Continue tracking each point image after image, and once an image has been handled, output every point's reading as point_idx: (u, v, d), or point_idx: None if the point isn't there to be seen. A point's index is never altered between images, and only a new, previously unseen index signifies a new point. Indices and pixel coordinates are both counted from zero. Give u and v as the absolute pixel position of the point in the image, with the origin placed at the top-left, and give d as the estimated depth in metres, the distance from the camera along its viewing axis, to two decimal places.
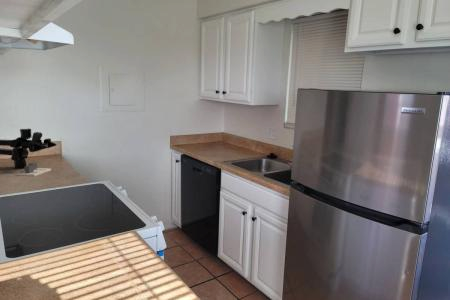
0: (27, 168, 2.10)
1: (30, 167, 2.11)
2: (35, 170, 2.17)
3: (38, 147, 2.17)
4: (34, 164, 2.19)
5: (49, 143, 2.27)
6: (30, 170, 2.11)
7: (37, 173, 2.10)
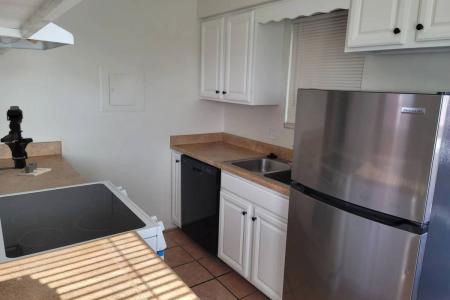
0: (27, 168, 2.10)
1: (30, 167, 2.11)
2: (35, 170, 2.17)
3: None
4: (34, 164, 2.19)
5: None
6: (30, 170, 2.11)
7: (37, 173, 2.10)
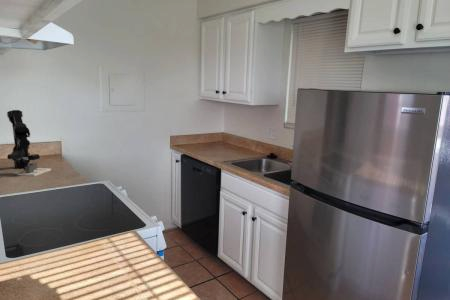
0: (27, 168, 2.10)
1: (30, 167, 2.11)
2: (35, 170, 2.17)
3: None
4: (34, 164, 2.19)
5: None
6: (30, 170, 2.11)
7: (37, 173, 2.10)
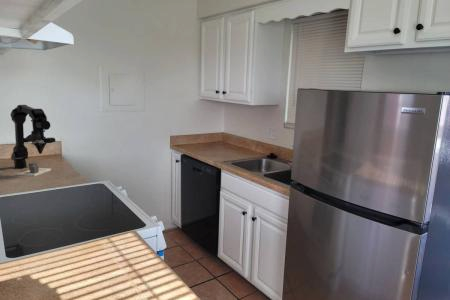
0: (32, 168, 2.09)
1: (35, 167, 2.10)
2: None
3: None
4: (34, 164, 2.19)
5: None
6: (35, 170, 2.11)
7: (37, 173, 2.10)
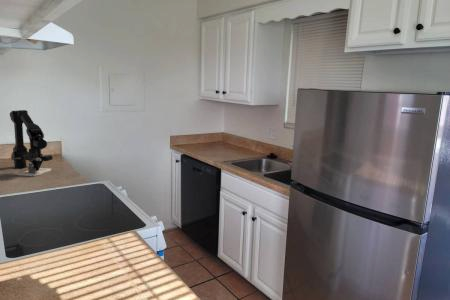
0: (30, 168, 2.09)
1: (33, 167, 2.10)
2: None
3: None
4: None
5: None
6: (34, 170, 2.11)
7: (37, 173, 2.10)
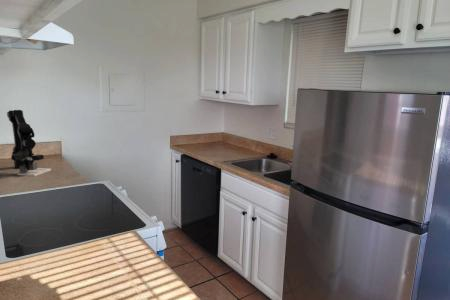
0: (22, 168, 2.10)
1: (25, 167, 2.11)
2: (35, 170, 2.17)
3: None
4: (34, 164, 2.19)
5: None
6: (25, 170, 2.12)
7: (37, 173, 2.10)
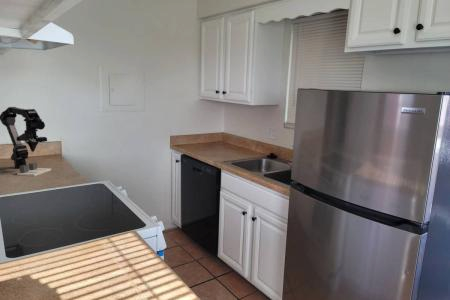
0: (22, 168, 2.10)
1: (25, 167, 2.11)
2: (35, 170, 2.17)
3: None
4: (34, 164, 2.19)
5: None
6: (25, 170, 2.11)
7: (37, 173, 2.10)
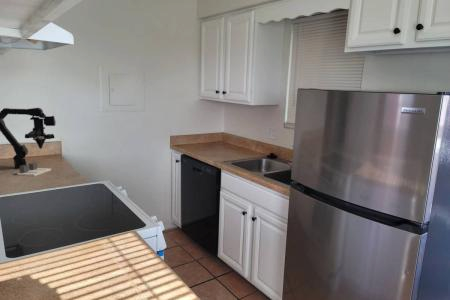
0: (22, 168, 2.10)
1: (25, 167, 2.11)
2: (35, 170, 2.17)
3: None
4: (34, 164, 2.19)
5: None
6: (25, 170, 2.11)
7: (37, 173, 2.10)
